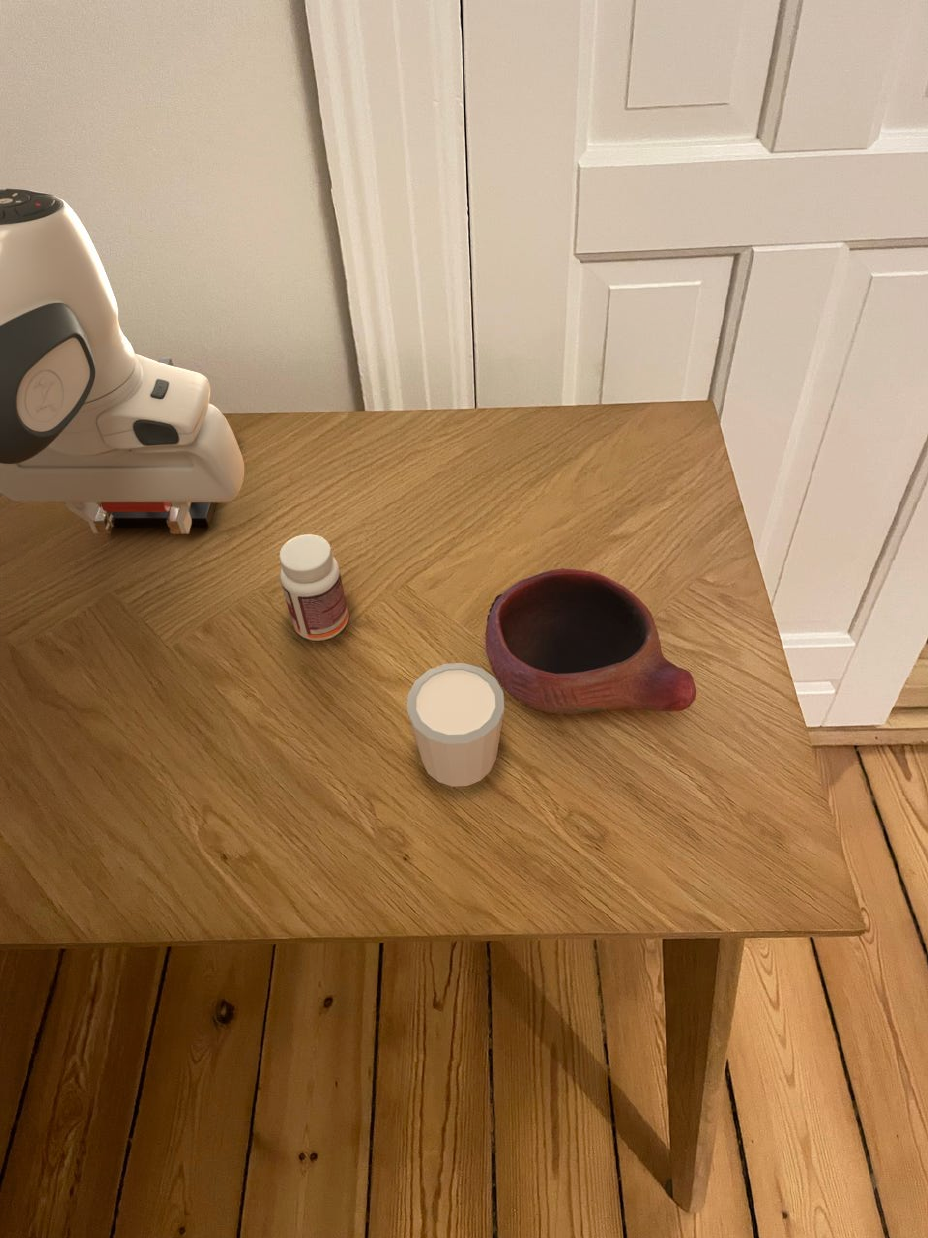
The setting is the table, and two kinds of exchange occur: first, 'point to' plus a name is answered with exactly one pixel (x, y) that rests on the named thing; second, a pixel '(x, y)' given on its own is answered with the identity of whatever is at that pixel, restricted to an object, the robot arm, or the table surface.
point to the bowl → (581, 647)
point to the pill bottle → (313, 587)
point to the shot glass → (456, 722)
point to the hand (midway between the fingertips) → (143, 528)
